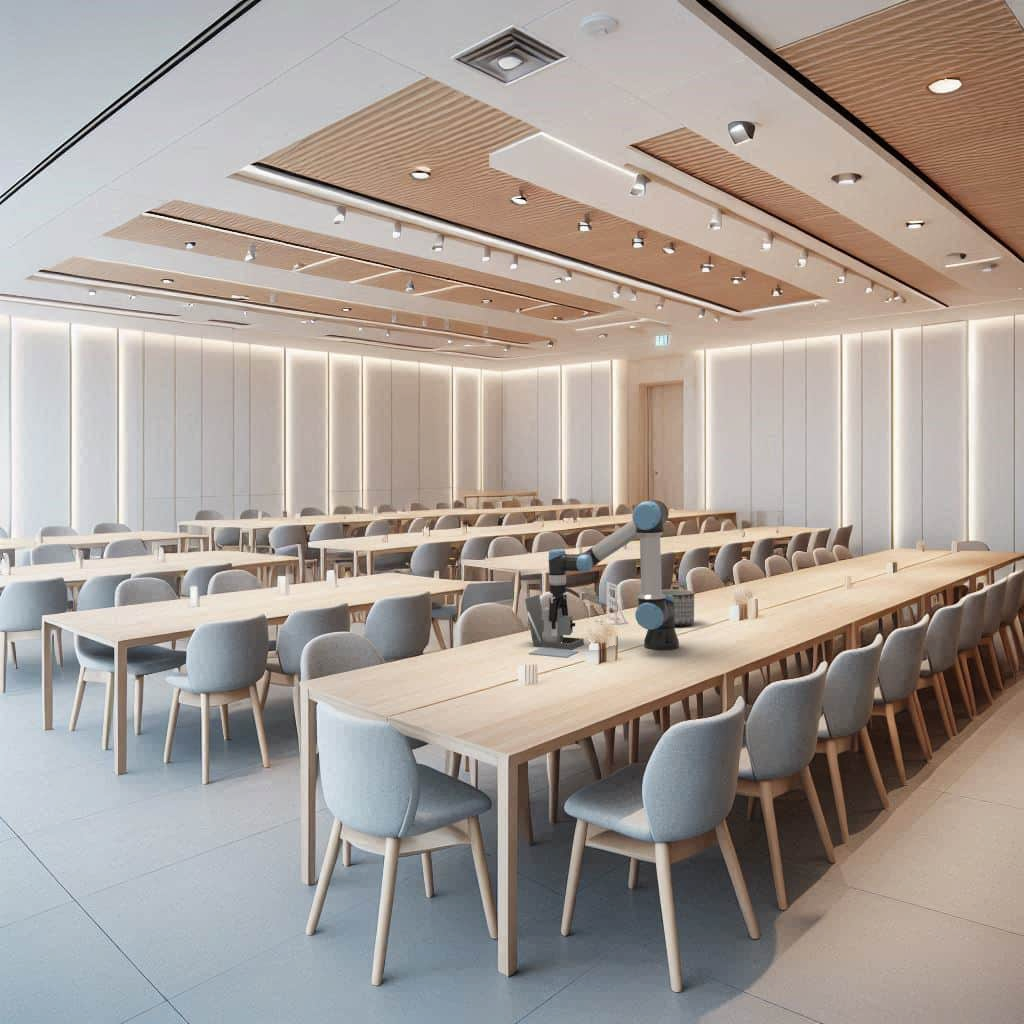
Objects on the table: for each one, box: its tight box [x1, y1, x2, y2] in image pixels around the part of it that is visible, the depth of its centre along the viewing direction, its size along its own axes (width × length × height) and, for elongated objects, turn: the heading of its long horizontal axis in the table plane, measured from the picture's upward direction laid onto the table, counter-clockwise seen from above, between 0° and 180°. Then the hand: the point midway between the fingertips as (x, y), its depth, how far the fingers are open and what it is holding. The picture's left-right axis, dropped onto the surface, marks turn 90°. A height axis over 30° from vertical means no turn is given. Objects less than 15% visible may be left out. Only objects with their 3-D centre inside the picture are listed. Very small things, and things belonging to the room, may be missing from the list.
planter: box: [662, 588, 695, 628], centre depth 427 cm, size 19×19×16 cm
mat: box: [528, 647, 579, 659], centre depth 366 cm, size 18×12×1 cm, turn 62°
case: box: [524, 594, 585, 651], centre depth 383 cm, size 23×14×21 cm, turn 62°
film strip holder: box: [605, 581, 629, 626], centre depth 437 cm, size 14×14×20 cm
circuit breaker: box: [542, 606, 576, 643], centre depth 382 cm, size 8×14×15 cm, turn 77°
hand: (559, 634), depth 382 cm, fingers closed on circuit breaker, 9 cm apart
